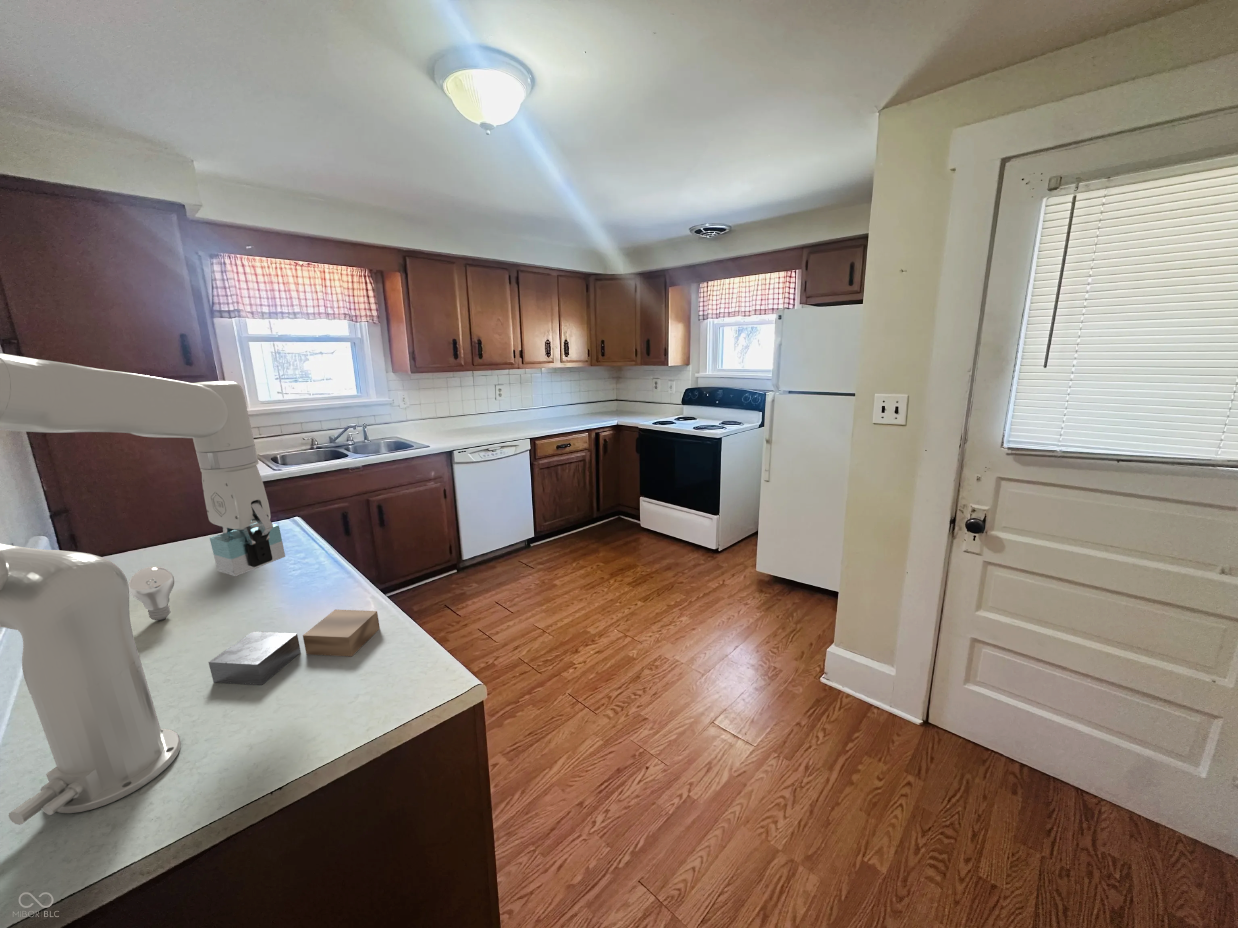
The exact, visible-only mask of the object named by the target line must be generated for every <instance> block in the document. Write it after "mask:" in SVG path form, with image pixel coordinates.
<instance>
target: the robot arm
mask: <svg viewBox="0 0 1238 928" xmlns="http://www.w3.org/2000/svg"><path fill="white" fill-rule="evenodd" d="M245 397H246V396H245V393H244V389H243V388H242V386H241V385H240V384H239V383H237V382H235V381H229V380H219V381H218V380H216V381H213V380H212V381H199V382H187V381H181V380H175V379H170V378H163V377H158V376H150V375H147V374H146V375H145V374H138V373H132V372H125V371H118V370H117V371H116V370H109V369H104V368H95V367H89V366H85V365H78V364H72V363H68V362H67V363H66V362H60V361H53V360H48V359H47V360H46V359H37V358H32V357H26V356H21V355H20V356H19V355H15V354H7V353H2V352H0V431H9V432H10V431H11V432H26V433H27V432H28V433H29V432H30V433H32V432H33V433H51V434H53V433H56V434H57V433H61V434H63V433H64V434H65V433H66V434H67V433H123V434H125V433H126V434H131V435H134V436H140V437H143V438H144V437H145V438H146V437H147V438H179V439H182V438H183V439H192V442H193V445H194V449H195V453H196V456H197V457H196V458H197V462H198V465H199V469H200V472H201V483H202V484H201V485H202V490H203V498H204V503H205V508H206V514H207V517H208V521H209V523H211V524H213V525H216V526H219V527H220V528H221V529H222V534H223V533H226V532H229V531H232V530H239V531H240V530H243V531H244V533H245V536H246V538H247V541H248V543H249V544H248V545H246V548H247V552H248V557H249V561H250V565H251V566H252V567H256V566H259V565H262V564H264V563H267V562H269V561H271V560H272V554H271V549H270V544H269V539H270V537H269V533H270V530H271V529H272V528H273V524H274V523H273V522H272V521H271V509H270V504H269V500H268V499H269V498H268V496H267V493H266V490H265V489H266V488H265V485H264V482H263V480H262V476H261V473H260V470H259V468H258V465H259V464H260V463H259V457H258V453H257V447H256V445H255V440H254V435H253V430H252V425H251V420H250V417H249V416H250V415H249V411H248V406H247V402H246V398H245ZM254 520H255V521H257V523H256V524H253V525H250V523H251V521H254ZM256 527H258V530H255V532H254V534H252V531H251V529H253V528H256ZM128 584H129V582H128V579H127V577H126V575H125V573H124V571H123V570H122V569H121V568H120V567H119V566H118V565H117V564H115V563H114V562H113V561H111V560H109V559H106V558H104V557H102V556H100V555H95V554H92V553H88V552H87V553H86V552H80V551H71V550H70V551H69V550H59V549H44V548H43V549H40V548H33V547H24V546H18V545H11V544H5V543H0V628H4V629H5V628H6V629H9V630H15V631H18V632H19V633H20V635H21V638H22V655H21V667H22V668H21V669H22V673H23V678H24V681H25V685H26V687H27V690H28V693H29V695H30V696H31V699H32V702H33V705H34V708H35V710H36V713H37V715H38V718H39V721H40V725H41V728H42V729H43V730H42V731H43V732H44V736H45V738H46V741H47V744H48V745H49V749H50V752H51V754H52V756H53V759H54V763H55V767H54V768H52V769H50V770H49V771H48V772H47V773H46V774H45V775H46V778H47V780H48V782H47V783H46V784H44V785H43V786H41V788H40V791H39V792H38V793H36V794H35V795H33V796H32V797H30V798H29V799H27V800H25V801H24V802H23V803H22V804H20V805H18V806H17V807H16V808H14V809H13V810H11V812H9V813H8V819H9V821H11V822H12V823H14V824H15V825H20V826H21V825H23V824H24V823H26V822H27V821H29V820H30V819H31V818H32V817H33V816H35V815H37V814H38V813H40V811H43V812H44V813H45V814H46V815H49V816H51V815H54V813H60V814H74V813H81V812H82V813H83V812H86V811H90V810H94V809H98V808H100V807H103V806H106V805H109V804H111V803H114V802H115V801H116V802H117V800H118V801H119V800H120V799H123V798H124V797H126V796H128V795H130V794H132V793H134V792H135V791H137V790H139V789H141V788H142V787H143V786H145V785H147V784H148V783H150V782H152V781H153V780H154V779H155V778H156V777H158V776H159V775H160V774H161V773H163V772H164V771H165V770H167V768H168V767H169V766H170V765H171V764H172V763H173V761H174V760H175V758H176V757H177V756H178V755H179V752H180V750H181V746H182V743H181V742H182V741H181V738H180V735H179V734H178V732H176V731H174V730H173V729H168V728H161V725H160V722H159V719H158V715H157V712H156V708H155V705H154V701H153V698H152V695H151V694H152V693H151V690H150V688H149V685H148V681H147V678H146V675H145V674H146V673H145V671H144V668H143V664H142V660H141V658H140V657H141V656H140V654H139V652H138V648H137V644H136V641H135V637H134V633H133V629H132V623H131V616H130V615H131V614H130V592H129V585H128Z"/></svg>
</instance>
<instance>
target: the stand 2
mask: <svg viewBox="0 0 1238 928" xmlns="http://www.w3.org/2000/svg"><path fill="white" fill-rule="evenodd" d="M380 627H381V626H380V620H379V615H378V610H364V609H362V610H361V609H360V610H359V609H358V610H357V609H334V610H333V611H331V612H330V613H329V614H328V615H326V616H325V617H323V618H322V619H321V620H320V621H318V623H317V624H315V625H314V626H313V627H312V628H310V629H309V630H307V631H306V632H305V633H304V634H303V635H302V640H303V644H304V648H305V654H306V655H312V656H313V655H314V656H330V657H331V656H332V657H333V656H334V657H336V656H337V657H350V658H351V657H353V656H354V655H356V653H357V652H358V651H359V650H360V649H361V648H362V647H363V646H364V645H366V643H367V642H369V640H370V639H371V638H372V637H373V636H374V635H375V634H376V633H377V632H378V631H380V629H381V628H380Z"/></svg>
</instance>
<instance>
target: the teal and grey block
mask: <svg viewBox="0 0 1238 928" xmlns="http://www.w3.org/2000/svg"><path fill="white" fill-rule="evenodd" d="M254 524H256V523H254ZM272 524H273V528H272V529H271V530H270V533H269V537H270V539H269V544H270V549H271V554H272V560H271V561H269V562H267V563H264V564H262V565H259V566H256V567H252V566H251V565H250V561H249V557H248V552H247V548H246V545H248V544H249V543H248V541H247V538H246V536H245V533H244V531H243V530H240V531H239V530H232V531H229V532H226V533H223V532H222V533H220V534H217V535H214V536H211V537H209V541H210V542H209V543H210V546H211V549H212V552H213V553H212V554H213V556H214V560H215V566H216V569H217V572H219V573H223V574H227V575H230V576H233V577H237V576H240V575H243V574H246V573H247V572H250V571H253V570H255V569H258V568H261V567H263V566H265V565H267V564H270V563H273V562H276V561H278V560H281V559H283V558H285V557H286V553H285V549H284V544H283V538H282V534H281V530H280V529H281V528H280V525H279V524H274V523H272ZM251 525H253V524H251ZM255 530H258V527H256V528H253V529H251V531H252V534H254V532H255Z"/></svg>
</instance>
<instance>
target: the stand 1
mask: <svg viewBox="0 0 1238 928" xmlns="http://www.w3.org/2000/svg"><path fill="white" fill-rule="evenodd" d="M298 636H299V635H298V633H294V632H293V633H292V632H272V631H271V632H270V631H251V632H250V633H248V634H247V635H245V636H244V637H242V638H241V639H240V640H238V641H237V642H236V643H234V644H232V645H230V646H229V647H228V648H227V649H225V650H224V651H222V652H221V653H219V654H218V655H216V656H215V657H214V658H212V659H211V660H209V661H208V666H209V670H210V673H211V677H212V682H213V683H216V684H217V683H218V684H237V685H253V686H256V685H257V686H263V685H264V684H266V683H267V682H268V681H269V680H270V679H271V678H272V677H274V675H276V674H277V673H278V672H280V671H281V670H282V669H284V667H285V666H287V664H289V663H290V662H291V661H292V660H294V659H295V658H296V657H297V656H298V655H300V654H301V653H302V650H301V646H300V641H299V637H298Z"/></svg>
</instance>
